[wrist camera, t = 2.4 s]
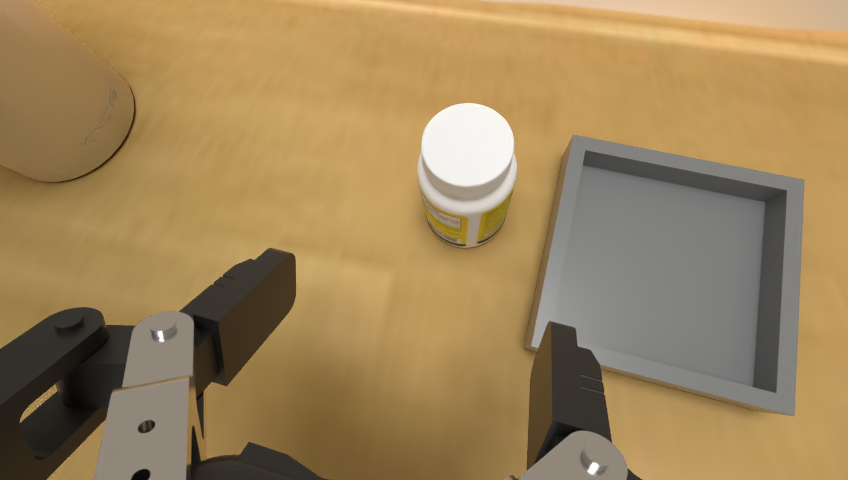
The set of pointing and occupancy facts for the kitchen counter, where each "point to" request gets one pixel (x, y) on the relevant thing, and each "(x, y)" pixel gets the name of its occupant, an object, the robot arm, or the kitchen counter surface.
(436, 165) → the supplement bottle
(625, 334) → the tray
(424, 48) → the kitchen counter surface
